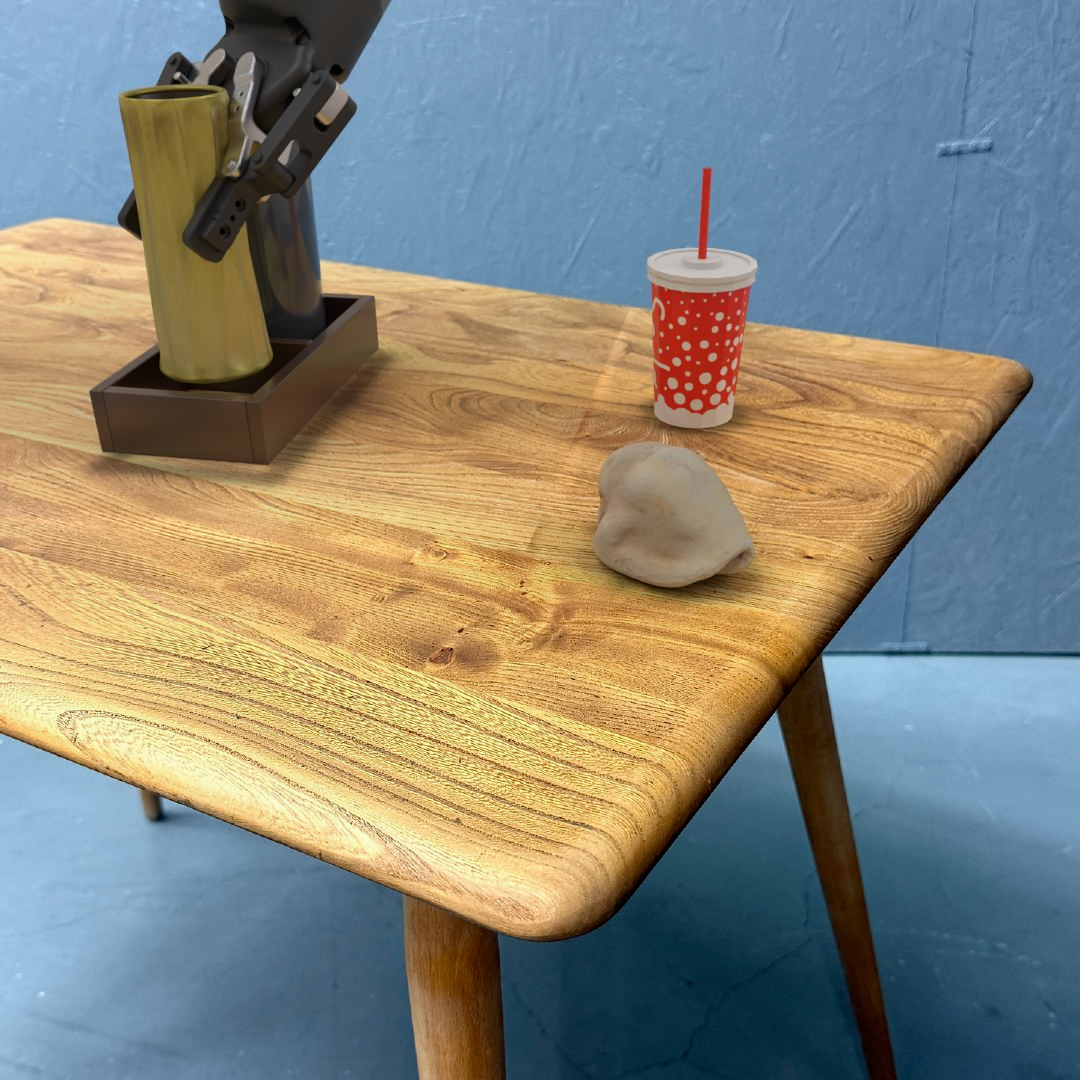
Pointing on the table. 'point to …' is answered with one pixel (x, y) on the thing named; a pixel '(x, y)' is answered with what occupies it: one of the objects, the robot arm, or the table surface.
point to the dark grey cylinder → (288, 262)
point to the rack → (236, 395)
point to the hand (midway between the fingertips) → (166, 242)
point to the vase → (164, 212)
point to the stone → (667, 517)
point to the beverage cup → (698, 327)
